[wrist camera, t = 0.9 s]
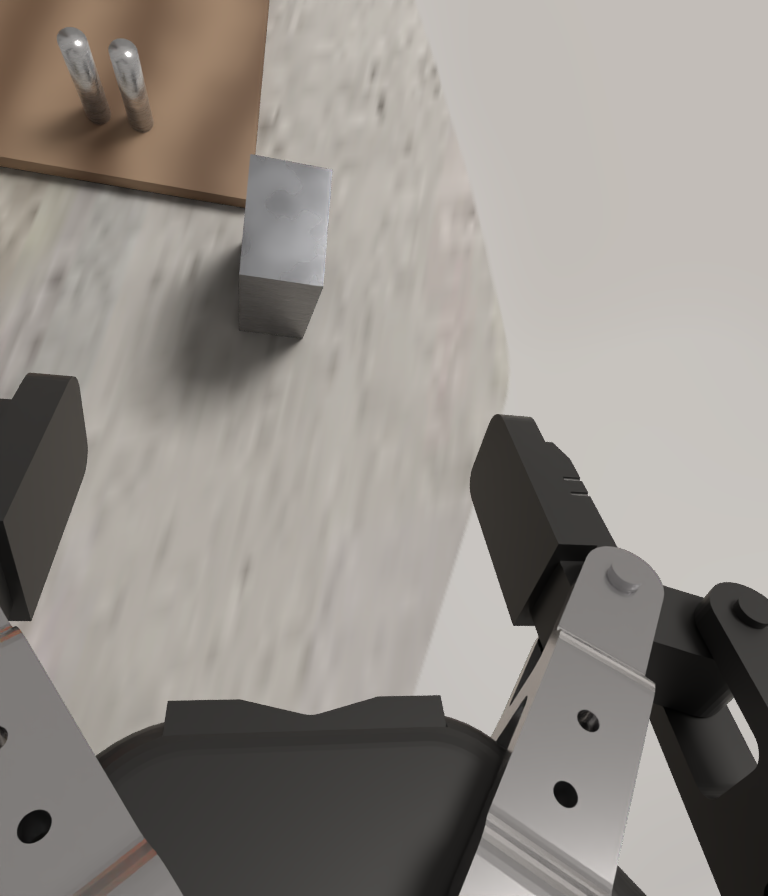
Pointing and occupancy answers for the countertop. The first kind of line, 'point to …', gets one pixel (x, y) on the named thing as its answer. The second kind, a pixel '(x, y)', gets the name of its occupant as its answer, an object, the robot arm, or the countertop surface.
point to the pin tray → (134, 92)
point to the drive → (283, 245)
